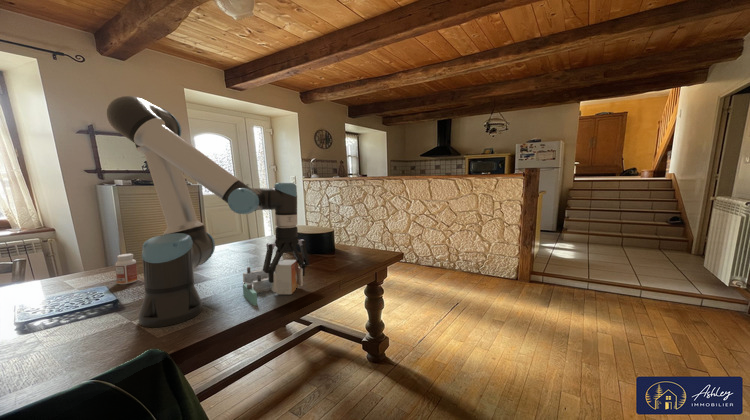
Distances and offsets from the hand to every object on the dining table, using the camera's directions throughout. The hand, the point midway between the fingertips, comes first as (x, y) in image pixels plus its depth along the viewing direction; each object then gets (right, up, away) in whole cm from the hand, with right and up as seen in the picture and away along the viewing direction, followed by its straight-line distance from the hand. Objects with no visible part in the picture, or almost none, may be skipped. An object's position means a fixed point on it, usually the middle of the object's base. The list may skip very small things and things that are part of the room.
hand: (287, 287), depth 102 cm
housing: (-11, -1, +8) cm, 13 cm away
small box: (0, -1, 0) cm, 1 cm away
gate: (-10, -2, -7) cm, 13 cm away
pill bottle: (-67, -1, +10) cm, 68 cm away
